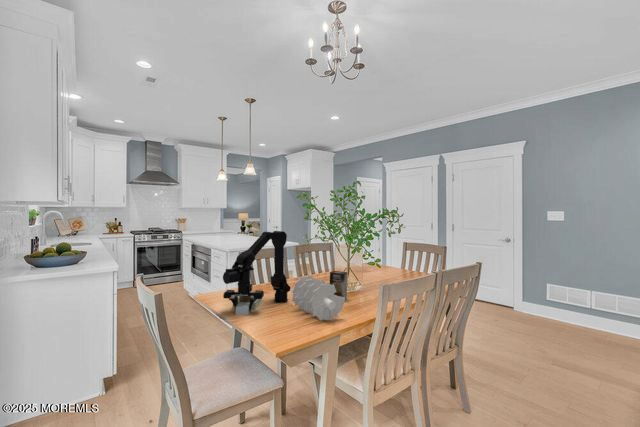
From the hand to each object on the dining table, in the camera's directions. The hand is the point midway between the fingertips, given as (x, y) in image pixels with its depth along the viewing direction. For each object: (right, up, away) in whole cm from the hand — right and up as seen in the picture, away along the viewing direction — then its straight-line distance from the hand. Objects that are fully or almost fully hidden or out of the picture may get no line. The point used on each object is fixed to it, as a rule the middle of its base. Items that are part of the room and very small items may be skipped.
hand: (243, 311), depth 149 cm
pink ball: (0, 0, +17) cm, 17 cm away
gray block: (0, -1, 0) cm, 1 cm away
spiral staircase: (+36, -2, +1) cm, 36 cm away
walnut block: (0, 0, +10) cm, 10 cm away
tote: (-1, -1, +13) cm, 13 cm away
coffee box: (+48, -2, +26) cm, 55 cm away
